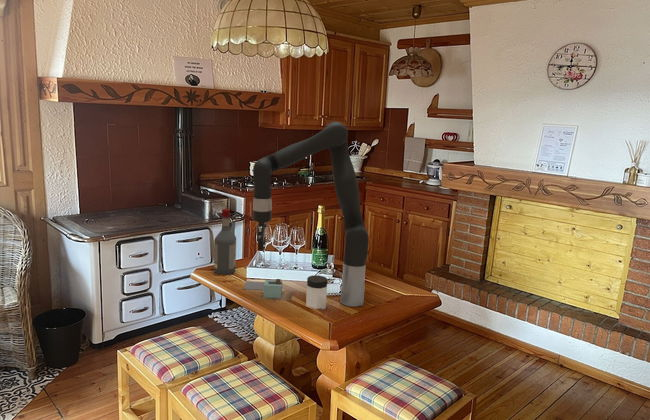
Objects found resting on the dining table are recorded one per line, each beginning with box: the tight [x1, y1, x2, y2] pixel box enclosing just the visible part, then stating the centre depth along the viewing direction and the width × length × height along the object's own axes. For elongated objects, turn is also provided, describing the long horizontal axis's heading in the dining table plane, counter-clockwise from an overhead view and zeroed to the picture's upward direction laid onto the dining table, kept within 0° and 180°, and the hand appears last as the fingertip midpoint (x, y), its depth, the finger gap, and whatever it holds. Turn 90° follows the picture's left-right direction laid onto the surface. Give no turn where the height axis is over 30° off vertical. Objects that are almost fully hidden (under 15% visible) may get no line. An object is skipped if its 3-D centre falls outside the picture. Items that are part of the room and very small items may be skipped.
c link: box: [262, 279, 283, 299], centre depth 204 cm, size 7×6×6 cm
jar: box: [305, 274, 328, 310], centre depth 197 cm, size 9×8×12 cm
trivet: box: [243, 280, 265, 291], centre depth 214 cm, size 9×9×1 cm
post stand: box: [261, 278, 293, 302], centre depth 204 cm, size 12×9×8 cm
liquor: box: [213, 208, 237, 276], centre depth 228 cm, size 9×9×30 cm
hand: (261, 247), depth 200 cm, fingers open, 8 cm apart
